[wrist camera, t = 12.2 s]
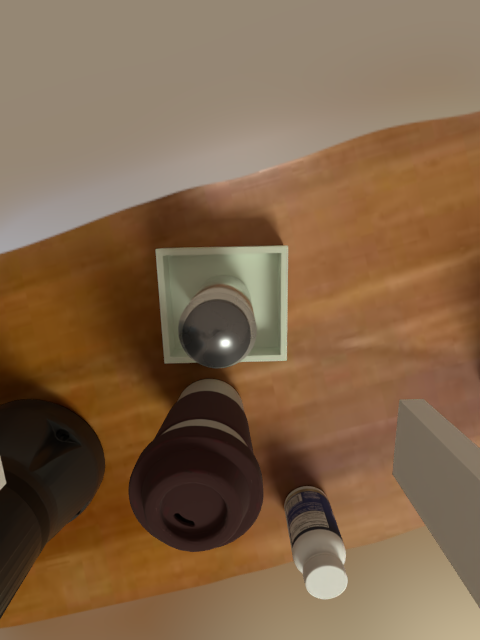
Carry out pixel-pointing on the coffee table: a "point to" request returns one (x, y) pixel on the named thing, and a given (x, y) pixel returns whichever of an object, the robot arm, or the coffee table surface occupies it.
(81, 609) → the coffee table surface
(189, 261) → the tray
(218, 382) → the coffee cup
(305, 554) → the pill bottle
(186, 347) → the shaker
